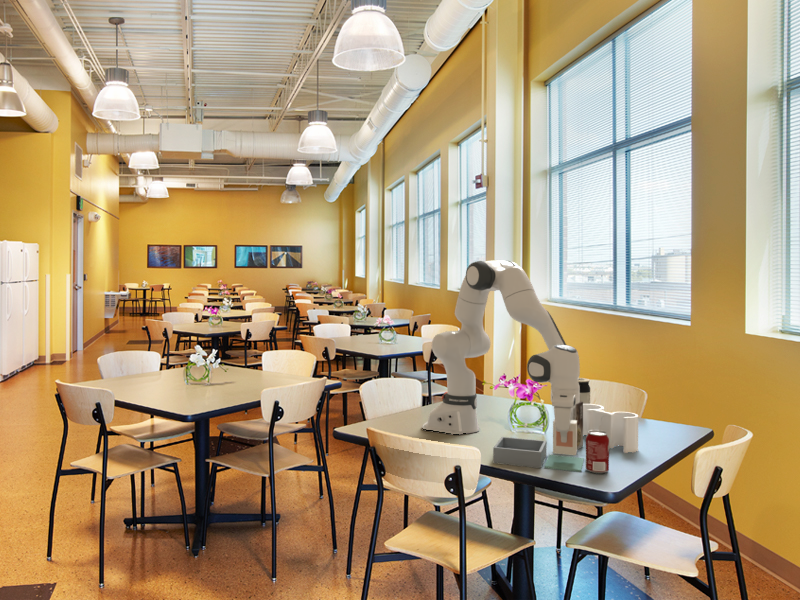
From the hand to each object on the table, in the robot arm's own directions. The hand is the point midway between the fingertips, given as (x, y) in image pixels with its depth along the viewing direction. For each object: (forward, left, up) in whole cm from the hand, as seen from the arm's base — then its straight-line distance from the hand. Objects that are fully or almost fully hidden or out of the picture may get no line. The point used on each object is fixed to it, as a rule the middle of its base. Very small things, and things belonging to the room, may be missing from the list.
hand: (564, 439), depth 188 cm
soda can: (+10, -4, -8) cm, 13 cm away
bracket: (+12, +30, -8) cm, 33 cm away
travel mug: (+1, +58, -8) cm, 59 cm away
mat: (0, 0, -8) cm, 8 cm away
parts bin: (-14, 0, -8) cm, 16 cm away
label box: (0, 0, -4) cm, 4 cm away
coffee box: (0, +19, -8) cm, 21 cm away
